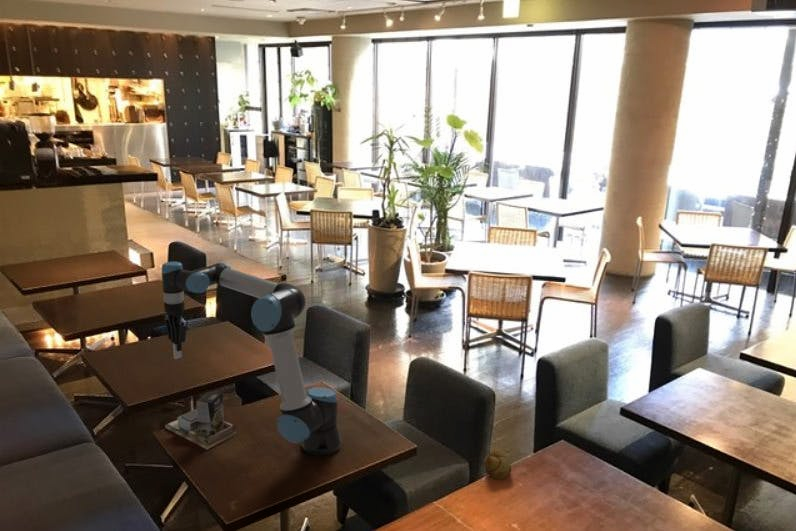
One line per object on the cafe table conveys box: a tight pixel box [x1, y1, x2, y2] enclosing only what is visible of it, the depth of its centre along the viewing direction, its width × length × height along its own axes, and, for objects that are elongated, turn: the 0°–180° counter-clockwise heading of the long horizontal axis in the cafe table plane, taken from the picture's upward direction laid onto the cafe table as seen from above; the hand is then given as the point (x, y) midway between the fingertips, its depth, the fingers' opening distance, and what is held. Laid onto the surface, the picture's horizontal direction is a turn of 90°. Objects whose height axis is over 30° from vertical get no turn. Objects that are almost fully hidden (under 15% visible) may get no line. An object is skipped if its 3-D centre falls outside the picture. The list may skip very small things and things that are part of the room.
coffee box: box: [196, 391, 225, 438], centre depth 238 cm, size 9×6×16 cm
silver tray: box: [164, 419, 237, 450], centre depth 244 cm, size 26×14×4 cm, turn 55°
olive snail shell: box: [483, 450, 512, 480], centre depth 222 cm, size 13×10×8 cm
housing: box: [177, 408, 198, 433], centre depth 244 cm, size 8×12×5 cm
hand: (177, 357), depth 243 cm, fingers closed
